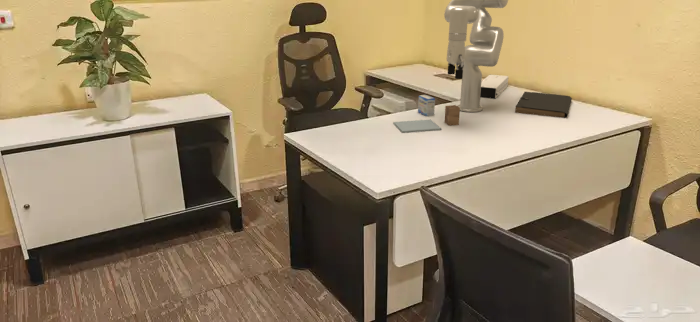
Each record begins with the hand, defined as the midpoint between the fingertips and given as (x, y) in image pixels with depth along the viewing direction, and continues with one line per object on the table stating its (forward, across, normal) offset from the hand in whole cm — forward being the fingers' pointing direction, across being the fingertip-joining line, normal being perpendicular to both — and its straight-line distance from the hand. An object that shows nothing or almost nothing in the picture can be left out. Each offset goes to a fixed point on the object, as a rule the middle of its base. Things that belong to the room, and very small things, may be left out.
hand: (454, 76), depth 235 cm
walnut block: (+22, -1, 0) cm, 22 cm away
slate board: (+22, 0, -16) cm, 28 cm away
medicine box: (+22, -19, -6) cm, 30 cm away
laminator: (+22, -56, +44) cm, 75 cm away
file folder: (+22, -20, +56) cm, 63 cm away
